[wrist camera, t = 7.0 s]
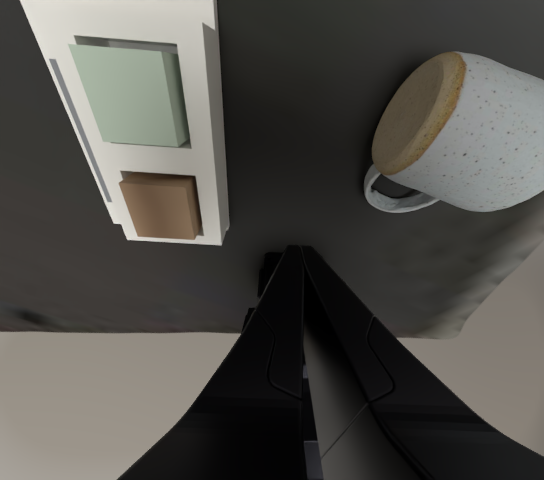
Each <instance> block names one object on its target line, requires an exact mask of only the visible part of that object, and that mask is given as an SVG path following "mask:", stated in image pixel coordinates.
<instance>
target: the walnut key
mask: <svg viewBox="0 0 544 480" xmlns="http://www.w3.org/2000/svg"><path fill="white" fill-rule="evenodd" d="M119 186H120V189H121V191H122V194H123V197H124V200H125V203H126V205H127V208H128V211H129V214H130V216H131V219H132V222H133V225H134V228H135V230H136V233H137V236H138V237H152V238H169V239H186V240H195V238H196V236H197V234H198V232H199V230H200V228H201V226H202V217H201V210H200V203H199V196H198V189H197V182H196V176H194V175H179V174H164V173H149V172H133V173H132V174H130V175H129V176H128V177H126V178H125V179H123V180H122V181H121V182H119Z"/></svg>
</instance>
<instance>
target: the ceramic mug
mask: <svg viewBox="0 0 544 480" xmlns="http://www.w3.org/2000/svg"><path fill="white" fill-rule="evenodd" d="M372 159H373V163H374V164H373V165H372V166H371V167H370V168H369V170H368V172H367V174H366V176H365V180H364V193H365V197H366V199H367V201H368V203H370V204H371V205H372V206H373V207H375V208H377V209H379V210H382V211H385V212H393V213H402V212H409V211H413V210H417V209H420V208H423V207H426V206H428V205H431V204H433V203H434V202H436V201H438V200H442V201H445V202H447V203H450V204H452V205H454V206H457V207H460V208H462V209H466V210H470V211H479V212H488V211H495V210H499V209H504V208H508V207H511V206H513V205H515V204H518V203H521V202H523V201H525V200H527V199H530V198H531V197H533V196H535V195H537V194H538V193H540V192H542V191H543V190H544V80H542V79H539V78H537V77H534V76H531V75H529V74H526V73H524V72H521V71H518V70H515V69H512V68H509V67H507V66H504V65H502V64H500V63H498V62H496V61H493V60H491V59H489V58H486V57H483V56H479V55H475V54H468V53H462V52H457V51H456V52H446V53H441V54H439V55H437V56H435V57H433V58H431V59H429V60H428V61H426V62H425V63H423V64H422V65H421V66H419V67H418V68H417V69H416V70H415V71H414V72H413V73H412V74H411V75H410V76H409V77H408V78H407V79H406V80H405V81H404V82H403V84H402V85H401V86H400V87H399V89H398V90H397V92H396V93H395V95H394V96H393V98H392V99H391V101H390V102H389V104H388V106H387V108H386V110H385V112H384V113H383V115H382V117H381V120H380V122H379V124H378V127H377V129H376V132H375V136H374V139H373V145H372ZM380 174H383V175H384V176H386V177H387V178H389V179H390V180H392V181H394V182H396V183H399V184H401V185H404V186H406V187H409V188H412V189H416V190H418V191H421V193H419V194H416V195H413V196H410V197H406V198H401V199H395V198H389V197H387V196H384V195H382V194H380V193H378V192H377V190H373V189H371V185H372V184H373V182H374V181H375V179H377V178H378V176H379V175H380Z"/></svg>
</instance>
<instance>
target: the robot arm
mask: <svg viewBox="0 0 544 480" xmlns="http://www.w3.org/2000/svg"><path fill="white" fill-rule="evenodd" d="M268 257H271V258H268ZM117 480H544V456H541V455H540V454H538V453H536V452H534V451H532V450H530V449H529V448H527V447H525V446H523V445H521V444H519V443H517V442H516V441H514V440H512V439H510V438H509V437H507V436H506V435H504V434H503V433H501V432H500V431H498V430H497V429H495V428H494V427H493V426H491V425H490V424H489V423H487V422H486V421H485V420H484V419H482V418H481V417H480V416H478V415H477V414H476V413H475V412H474V411H473V410H472V409H471V408H469V407H468V406H467V405H466V404H465V403H464V402H463V401H462V400H461V399H459V398H458V397H457V396H456V395H455V394H454V393H453V392H452V391H451V390H450V389H449V388H448V387H447V386H446V385H445V384H444V383H442V382H441V381H440V380H439V379H438V378H437V377H436V376H435V375H434V374H433V373H432V372H431V371H430V370H428V369H427V368H426V367H425V366H424V365H423V364H422V363H421V362H420V361H419V360H418V359H417V358H416V357H415V356H414V355H413V354H412V353H411V352H410V351H409V350H407V349H406V348H405V347H404V346H403V345H402V344H401V343H400V342H399V341H398V340H397V339H396V338H395V336H394V335H393V334H392V333H391V332H390V331H389V330H388V329H387V328H386V327H385V326H384V325H383V324H382V323H381V322H380V321H379V319H378V318H377V317H374V314H373V313H372V312H371V311H370V310H369V309H368V308H367V306H366V305H365V304H364V303H363V302H362V301H361V300H360V299H359V298H358V297H357V296H356V294H355V293H354V292H353V291H352V290H351V289H350V288H349V287H348V286H347V285H346V283H345V282H344V281H343V280H342V279H341V278H340V277H339V276H338V275H337V274H336V273H335V271H334V270H333V269H332V268H331V267H330V266H329V265H328V264H327V263H326V262H325V260H324V259H323V258H322V257H321V256H320V255H319V254H318V253H317V252H316V251H315V250H314V248H313V247H311V246H304V245H301V246H300V247H299V246H298V245H288V246H287V248H286V250H285V251H284V253H283V254H278V253H267V254H266V255H265V260H264V269H261V270H260V273H259V285H258V298H257V306H256V308H249V309H248V313H247V315H246V317H245V321H244V325H243V329H242V333H241V335H240V337H239V338H238V340H237V341H236V343H235V344H234V346H233V347H232V349H231V350H230V352H229V353H228V355H227V356H226V358H225V359H224V360H223V362H222V363H221V365H220V366H219V368H218V369H217V370H216V372H215V373H214V375H213V376H212V378H211V379H210V380H209V382H208V383H207V385H206V386H205V388H204V389H203V391H202V392H201V393H200V395H199V396H198V397H197V399H196V400H195V401H194V403H193V404H192V405H191V407H190V408H189V409H188V411H187V412H186V413H185V414H184V415H183V417H182V418H181V419H180V420H179V421H178V422H177V423H176V425H174V427H173V428H172V429H171V430H170V431H169V432H168V433H166V434H165V435H164V436H163V437H162V438H161V439H160V440H159V441H158V442H157V443H156V444H155V445H153V446H152V447H151V449H149V450H148V451H147V452H146V453H145V454H144V455H143V456H142V457H141V458H140V459H138V460H137V461H136V462H135V463H134V464H133V465H132V466H131V467H130V468H129V469H128V470H127V471H126V472H125V473H123V474H122V475H121V476H120V477H119V478H118V479H117Z"/></svg>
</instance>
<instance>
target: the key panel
mask: <svg viewBox="0 0 544 480" xmlns="http://www.w3.org/2000/svg"><path fill="white" fill-rule="evenodd" d="M20 1H21V4H22V6H23V8H24V11H25V13H26V16H27V18H28V20H29V23H30V25H31V27H32V30H33V32H34V35H35V37H36V39H37V42H38V44H39V47H40V49H41V51H42V54H43V56H44V58H45V61H46V63H47V66H48V68H49V70H50V73H51V75H52V77H53V80H54V82H55V85H56V87H57V89H58V92H59V94H60V97H61V99H62V101H63V104H64V106H65V108H66V111H67V113H68V116H69V118H70V120H71V123H72V125H73V128H74V130H75V132H76V135H77V137H78V139H79V142H80V144H81V147H82V149H83V151H84V154H85V156H86V158H87V161H88V163H89V166H90V168H91V170H92V173H93V175H94V178H95V180H96V182H97V185H98V187H99V189H100V192H101V194H102V197H103V199H104V201H105V204H106V206H107V208H108V211H109V213H110V216H111V218H112V220H113V223H114V224H121V225H122V228H123V230H124V233H125V235H126V238H127V240H139V241H156V242H173V243H190V244H207V245H222V243H223V239H224V236H225V233H226V230H228V228H229V225H230V224H229V206H228V189H227V171H226V154H225V136H224V119H223V101H222V84H221V66H220V49H219V31H218V14H217V0H20ZM68 44H75V45H87V46H100V47H112V48H124V49H137V50H149V51H161V52H167V53H173V54H178V56H179V63H180V70H181V77H182V84H183V91H184V98H185V105H186V112H187V119H188V126H189V133H190V138H189V139H188V140H186V141H185V142H184V143H182V144H181V145H180V146H179V147H172V146H158V145H143V144H129V143H115V142H103V140H102V137H101V134H100V132H99V129H98V126H97V123H96V121H95V118H94V115H93V112H92V109H91V107H90V104H89V101H88V98H87V96H86V93H85V90H84V87H83V85H82V82H81V79H80V76H79V73H78V71H77V68H76V65H75V62H74V60H73V57H72V54H71V51H70V48H69V46H68ZM133 172H149V173H164V174H179V175H194V176H196V182H197V189H198V196H199V203H200V210H201V217H202V226H201V228H200V230H199V232H198V234H197V236H196V238H195V240H186V239H169V238H152V237H138V236H137V233H136V230H135V228H134V225H133V222H132V219H131V216H130V214H129V211H128V208H127V205H126V203H125V200H124V197H123V194H122V191H121V189H120V186H119V182H121V181H122V180H123V179H125V178H126V177H128V176H129V175H130V174H132V173H133Z"/></svg>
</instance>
